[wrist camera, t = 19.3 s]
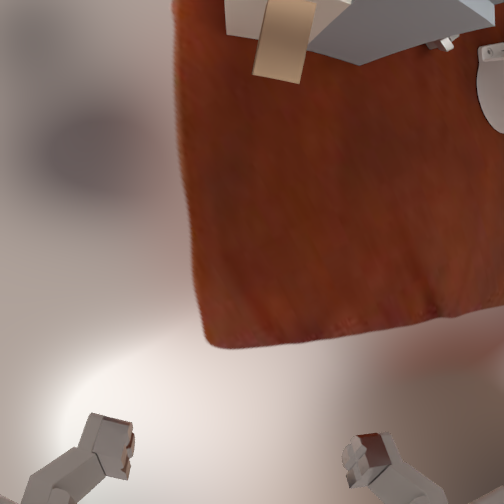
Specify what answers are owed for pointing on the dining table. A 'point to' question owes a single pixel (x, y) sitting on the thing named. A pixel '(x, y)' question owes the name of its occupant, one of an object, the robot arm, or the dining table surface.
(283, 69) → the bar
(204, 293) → the dining table surface
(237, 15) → the stand
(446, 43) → the lighter
